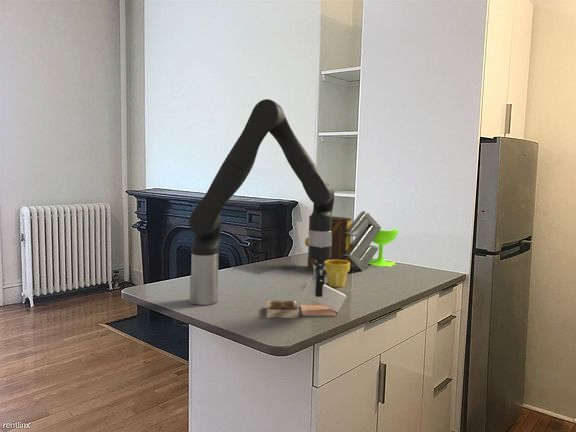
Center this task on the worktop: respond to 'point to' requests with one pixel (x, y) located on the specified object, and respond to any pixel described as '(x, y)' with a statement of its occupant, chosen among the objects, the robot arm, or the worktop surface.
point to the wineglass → (382, 239)
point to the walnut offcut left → (276, 305)
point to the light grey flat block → (325, 295)
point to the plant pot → (337, 272)
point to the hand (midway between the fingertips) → (318, 294)
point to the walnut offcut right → (288, 305)
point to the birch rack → (282, 311)
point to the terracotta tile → (316, 310)
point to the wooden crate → (335, 239)
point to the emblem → (362, 241)
